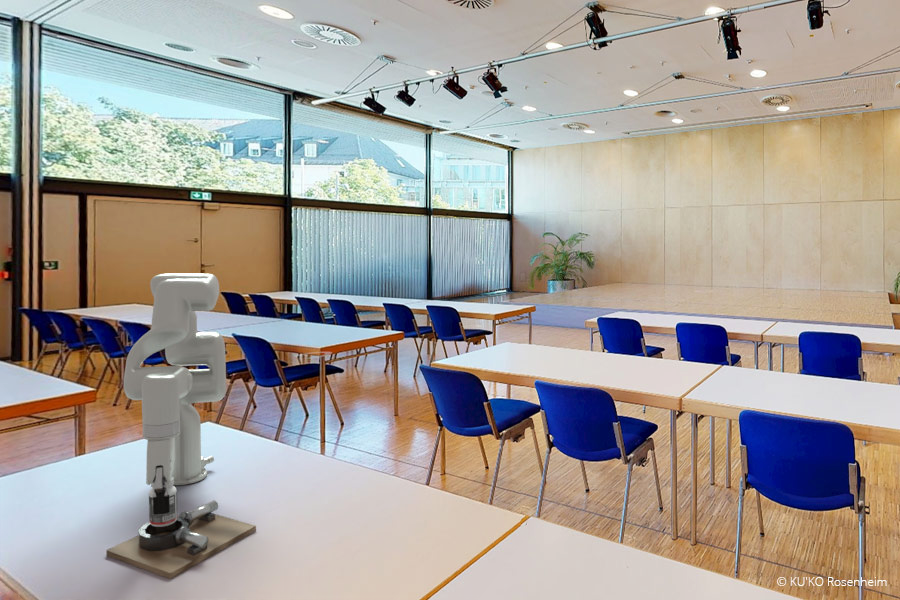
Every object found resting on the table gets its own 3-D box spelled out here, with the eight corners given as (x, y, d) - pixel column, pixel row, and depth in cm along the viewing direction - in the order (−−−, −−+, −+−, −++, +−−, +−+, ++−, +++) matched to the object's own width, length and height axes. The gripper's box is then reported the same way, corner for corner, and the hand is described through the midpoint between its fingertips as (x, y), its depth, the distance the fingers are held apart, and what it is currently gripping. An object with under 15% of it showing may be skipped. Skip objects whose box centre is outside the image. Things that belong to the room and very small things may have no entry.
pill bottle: (155, 516, 140) (154, 474, 139) (181, 516, 140) (180, 474, 139) (145, 528, 134) (144, 484, 133) (172, 527, 135) (171, 483, 134)
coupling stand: (196, 513, 154) (195, 492, 154) (255, 530, 146) (255, 508, 145) (106, 555, 133) (105, 531, 132) (170, 578, 124) (169, 552, 124)
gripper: (148, 419, 142) (150, 494, 144) (136, 442, 126) (138, 526, 128) (183, 417, 145) (184, 491, 146) (176, 439, 129) (177, 521, 130)
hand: (163, 506), depth 137 cm, fingers closed on pill bottle, 5 cm apart
